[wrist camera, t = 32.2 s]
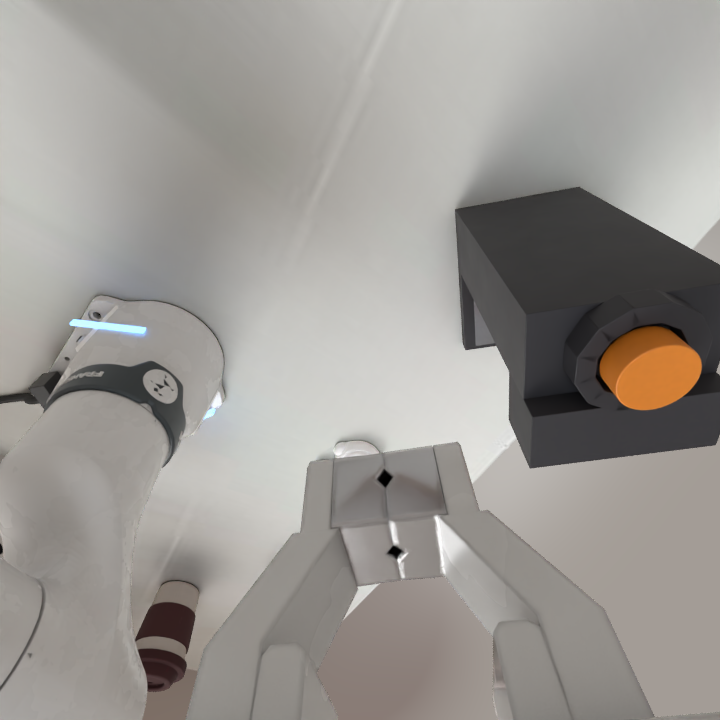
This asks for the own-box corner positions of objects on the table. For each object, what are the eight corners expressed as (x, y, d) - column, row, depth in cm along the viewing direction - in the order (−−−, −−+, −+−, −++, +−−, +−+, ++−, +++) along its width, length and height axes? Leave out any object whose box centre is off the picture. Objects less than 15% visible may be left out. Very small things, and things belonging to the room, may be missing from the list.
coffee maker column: (572, 254, 47) (734, 396, 27) (458, 273, 48) (532, 423, 28) (579, 182, 43) (775, 286, 23) (454, 205, 44) (537, 323, 24)
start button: (670, 382, 26) (691, 404, 25) (594, 393, 27) (610, 415, 25) (687, 319, 24) (712, 339, 22) (603, 332, 24) (622, 352, 23)
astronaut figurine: (298, 475, 65) (295, 492, 63) (351, 430, 60) (351, 446, 58) (343, 500, 69) (342, 517, 66) (397, 460, 64) (398, 476, 61)
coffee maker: (570, 327, 52) (705, 492, 32) (462, 343, 53) (527, 513, 33) (583, 192, 43) (779, 302, 23) (455, 215, 44) (536, 339, 24)
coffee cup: (187, 570, 79) (156, 665, 67) (217, 597, 84) (193, 690, 72) (141, 582, 81) (102, 676, 69) (173, 608, 86) (142, 699, 74)
